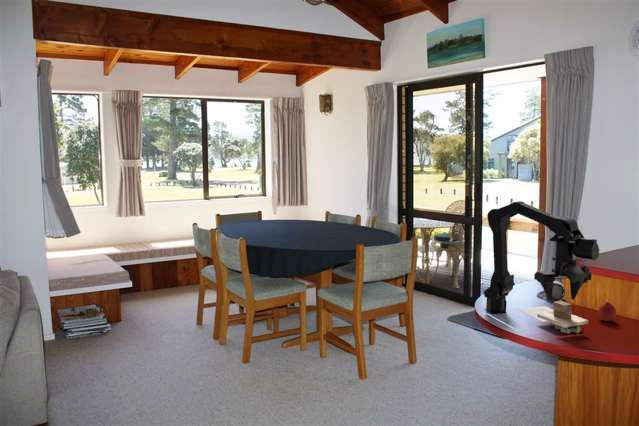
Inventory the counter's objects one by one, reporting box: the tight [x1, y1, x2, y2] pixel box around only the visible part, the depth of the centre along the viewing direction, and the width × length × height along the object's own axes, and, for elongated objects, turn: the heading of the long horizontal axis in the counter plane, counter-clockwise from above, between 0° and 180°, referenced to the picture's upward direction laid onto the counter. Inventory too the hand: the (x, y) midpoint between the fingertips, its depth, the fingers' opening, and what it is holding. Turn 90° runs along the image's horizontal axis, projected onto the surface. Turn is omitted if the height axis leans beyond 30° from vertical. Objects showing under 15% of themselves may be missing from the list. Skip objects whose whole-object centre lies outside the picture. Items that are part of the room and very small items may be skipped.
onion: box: [597, 299, 617, 322], centre depth 198 cm, size 6×6×8 cm
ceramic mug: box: [536, 280, 567, 301], centre depth 227 cm, size 11×8×8 cm
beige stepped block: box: [537, 300, 589, 328], centre depth 190 cm, size 10×13×6 cm
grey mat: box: [515, 305, 554, 323], centre depth 206 cm, size 13×16×1 cm
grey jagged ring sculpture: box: [548, 321, 583, 336], centre depth 190 cm, size 11×8×4 cm
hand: (561, 300), depth 189 cm, fingers open, 9 cm apart
